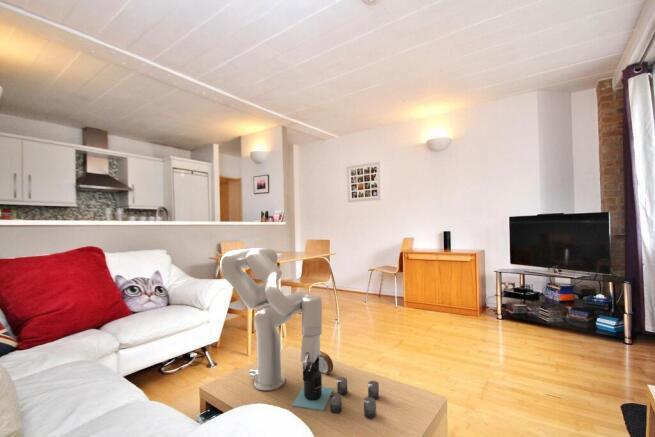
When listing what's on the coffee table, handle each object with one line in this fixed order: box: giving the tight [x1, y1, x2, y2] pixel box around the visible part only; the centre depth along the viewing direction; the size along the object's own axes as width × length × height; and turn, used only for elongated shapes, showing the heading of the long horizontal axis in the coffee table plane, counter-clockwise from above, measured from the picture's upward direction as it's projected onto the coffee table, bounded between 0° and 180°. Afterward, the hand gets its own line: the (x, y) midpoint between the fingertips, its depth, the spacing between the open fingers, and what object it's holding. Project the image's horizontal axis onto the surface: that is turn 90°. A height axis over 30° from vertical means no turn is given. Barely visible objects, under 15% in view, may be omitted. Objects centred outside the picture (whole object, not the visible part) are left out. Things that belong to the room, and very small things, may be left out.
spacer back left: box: [336, 376, 349, 397], centre depth 119 cm, size 4×4×5 cm
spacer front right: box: [363, 396, 377, 420], centre depth 105 cm, size 4×4×5 cm
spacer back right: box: [367, 380, 380, 401], centre depth 115 cm, size 4×4×5 cm
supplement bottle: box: [303, 362, 323, 400], centre depth 116 cm, size 7×7×12 cm
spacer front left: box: [329, 392, 343, 415], centre depth 108 cm, size 4×4×5 cm
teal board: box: [291, 385, 334, 412], centre depth 116 cm, size 12×14×1 cm
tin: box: [308, 350, 334, 375], centre depth 137 cm, size 15×3×8 cm, turn 43°
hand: (311, 374), depth 116 cm, fingers open, 9 cm apart
